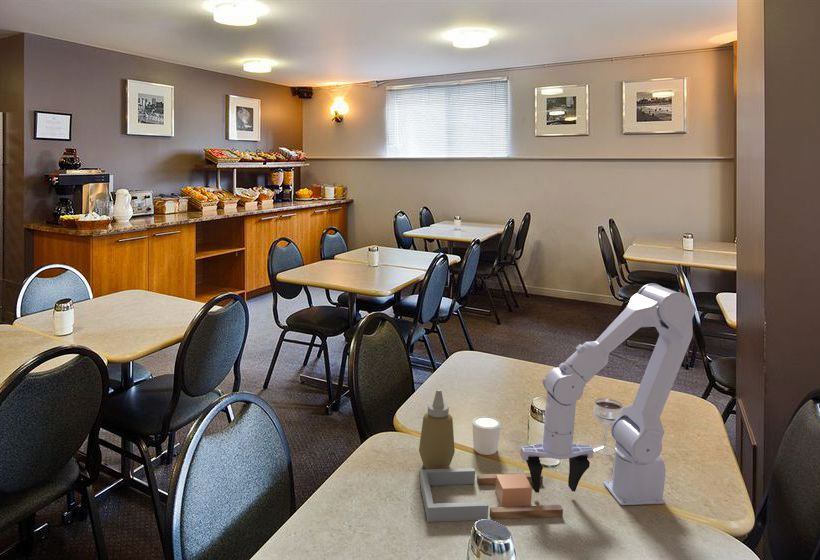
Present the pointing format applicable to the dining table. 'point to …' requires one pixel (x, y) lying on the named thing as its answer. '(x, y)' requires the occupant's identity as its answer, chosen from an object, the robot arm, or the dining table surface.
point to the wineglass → (606, 419)
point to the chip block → (513, 489)
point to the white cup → (486, 434)
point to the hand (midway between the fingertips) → (553, 489)
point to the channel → (519, 510)
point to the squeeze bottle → (437, 435)
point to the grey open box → (450, 509)
